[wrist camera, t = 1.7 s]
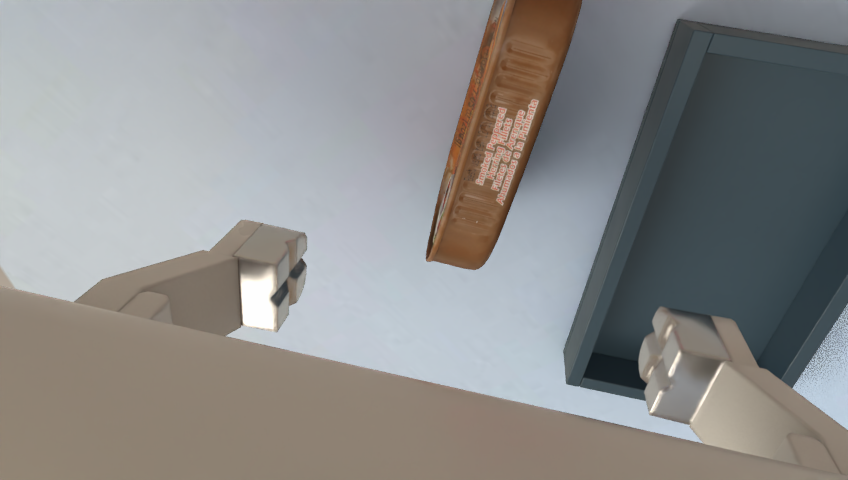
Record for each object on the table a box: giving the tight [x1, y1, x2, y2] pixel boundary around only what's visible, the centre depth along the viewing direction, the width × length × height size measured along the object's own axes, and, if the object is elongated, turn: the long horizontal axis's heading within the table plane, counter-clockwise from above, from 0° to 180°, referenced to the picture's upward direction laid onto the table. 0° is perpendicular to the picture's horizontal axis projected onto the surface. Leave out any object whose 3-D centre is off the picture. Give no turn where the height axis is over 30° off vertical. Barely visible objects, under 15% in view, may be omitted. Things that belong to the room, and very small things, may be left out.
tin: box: [426, 0, 582, 270], centre depth 24 cm, size 15×3×8 cm, turn 165°
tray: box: [564, 19, 848, 401], centre depth 28 cm, size 12×20×3 cm, turn 172°
